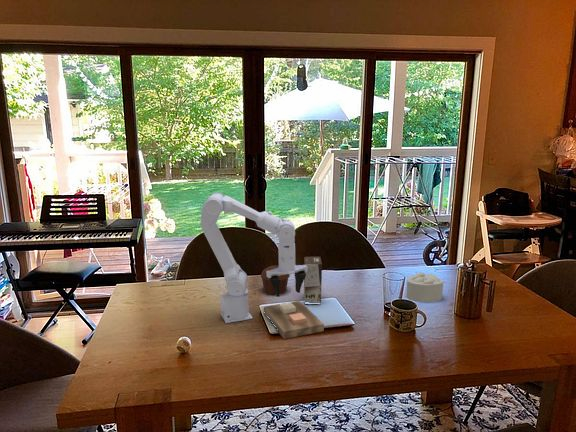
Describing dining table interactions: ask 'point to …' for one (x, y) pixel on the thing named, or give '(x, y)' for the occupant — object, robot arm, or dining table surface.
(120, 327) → the dining table surface
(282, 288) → the muffin
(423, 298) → the lumpy-topped squat cylinder
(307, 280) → the coffee box
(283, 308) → the cream small block
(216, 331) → the dining table surface
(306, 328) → the key block
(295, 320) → the terracotta key
